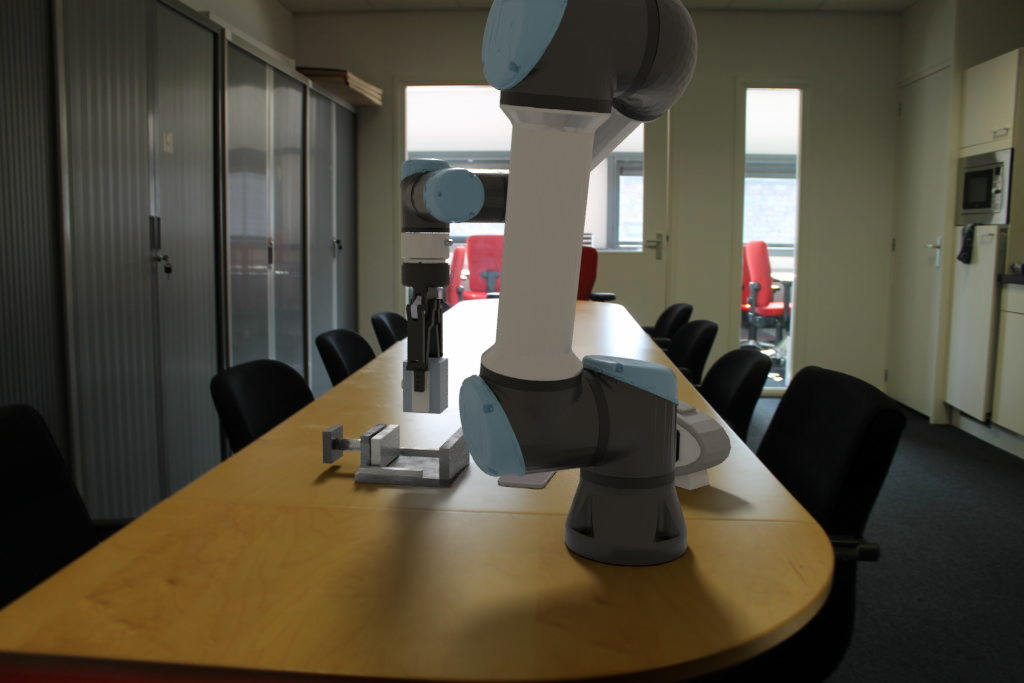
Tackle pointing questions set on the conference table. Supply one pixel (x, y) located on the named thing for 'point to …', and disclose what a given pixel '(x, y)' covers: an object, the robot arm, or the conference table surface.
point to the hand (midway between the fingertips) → (425, 407)
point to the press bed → (415, 462)
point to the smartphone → (527, 480)
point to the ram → (382, 445)
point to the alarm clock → (697, 446)
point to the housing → (437, 386)
